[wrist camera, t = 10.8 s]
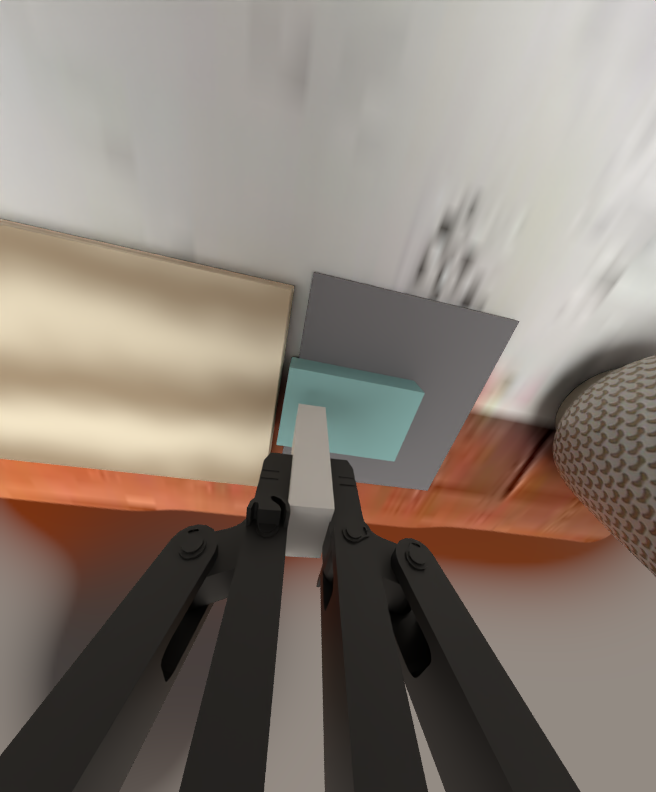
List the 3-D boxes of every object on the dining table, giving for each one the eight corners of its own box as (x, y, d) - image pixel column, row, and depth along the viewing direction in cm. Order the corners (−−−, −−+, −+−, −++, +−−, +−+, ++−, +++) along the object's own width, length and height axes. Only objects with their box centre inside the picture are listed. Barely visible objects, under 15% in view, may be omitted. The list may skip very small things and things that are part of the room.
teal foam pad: (279, 428, 20) (276, 444, 18) (291, 356, 17) (289, 367, 15) (387, 445, 21) (394, 461, 19) (414, 380, 18) (424, 392, 17)
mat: (313, 271, 15) (313, 272, 15) (515, 320, 17) (519, 321, 17) (279, 469, 22) (279, 473, 22) (425, 487, 24) (427, 490, 24)
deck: (-158, 182, 12) (-288, 159, 10) (294, 285, 15) (290, 290, 13) (-36, 421, 18) (-95, 448, 16) (269, 459, 22) (263, 487, 19)
